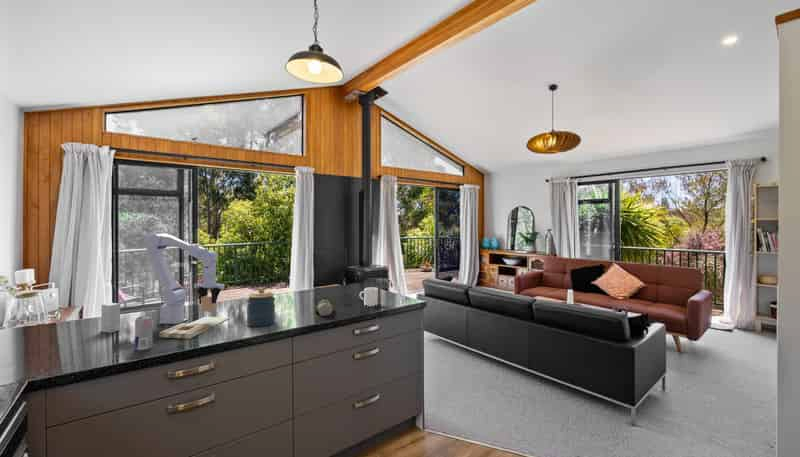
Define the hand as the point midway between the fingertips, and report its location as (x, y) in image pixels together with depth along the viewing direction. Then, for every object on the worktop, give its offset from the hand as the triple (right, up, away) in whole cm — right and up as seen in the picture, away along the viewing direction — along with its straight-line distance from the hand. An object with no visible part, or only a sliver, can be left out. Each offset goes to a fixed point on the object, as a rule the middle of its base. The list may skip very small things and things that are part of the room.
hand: (209, 302), depth 166 cm
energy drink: (-6, -10, -34) cm, 36 cm away
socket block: (-1, -10, -16) cm, 19 cm away
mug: (+74, -10, +38) cm, 84 cm away
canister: (+26, -10, -1) cm, 28 cm away
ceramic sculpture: (+52, -10, +19) cm, 56 cm away
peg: (0, -4, 0) cm, 4 cm away
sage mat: (0, -9, 0) cm, 9 cm away
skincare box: (-36, -9, -15) cm, 40 cm away
